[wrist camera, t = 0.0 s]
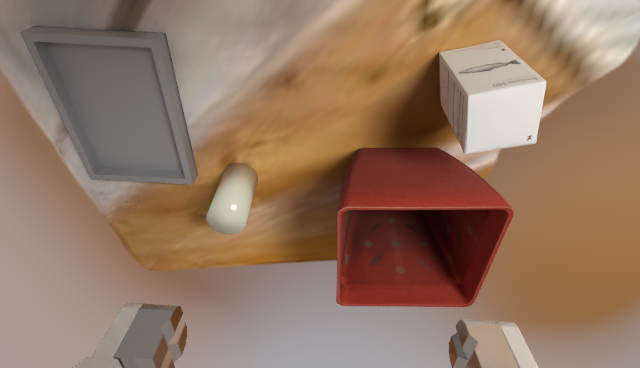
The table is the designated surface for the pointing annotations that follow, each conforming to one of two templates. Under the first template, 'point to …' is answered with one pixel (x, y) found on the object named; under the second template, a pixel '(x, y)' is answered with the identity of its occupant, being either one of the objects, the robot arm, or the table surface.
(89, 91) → the grey tray
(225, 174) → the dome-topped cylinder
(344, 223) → the plant pot
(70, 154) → the table surface
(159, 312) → the robot arm
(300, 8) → the table surface
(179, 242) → the table surface
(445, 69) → the supplement box
